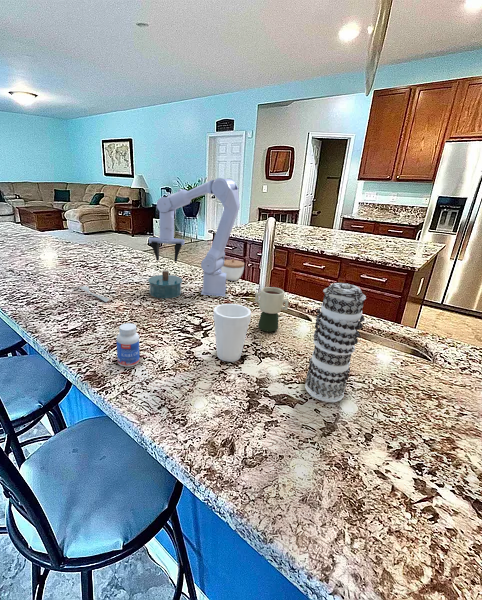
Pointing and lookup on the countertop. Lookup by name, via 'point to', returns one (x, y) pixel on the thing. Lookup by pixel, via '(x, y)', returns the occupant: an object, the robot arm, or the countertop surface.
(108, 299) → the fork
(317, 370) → the leaning tower model
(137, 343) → the pill bottle
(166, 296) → the bowl
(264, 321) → the character mug
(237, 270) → the trinket box
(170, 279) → the lid
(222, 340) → the foam cup
